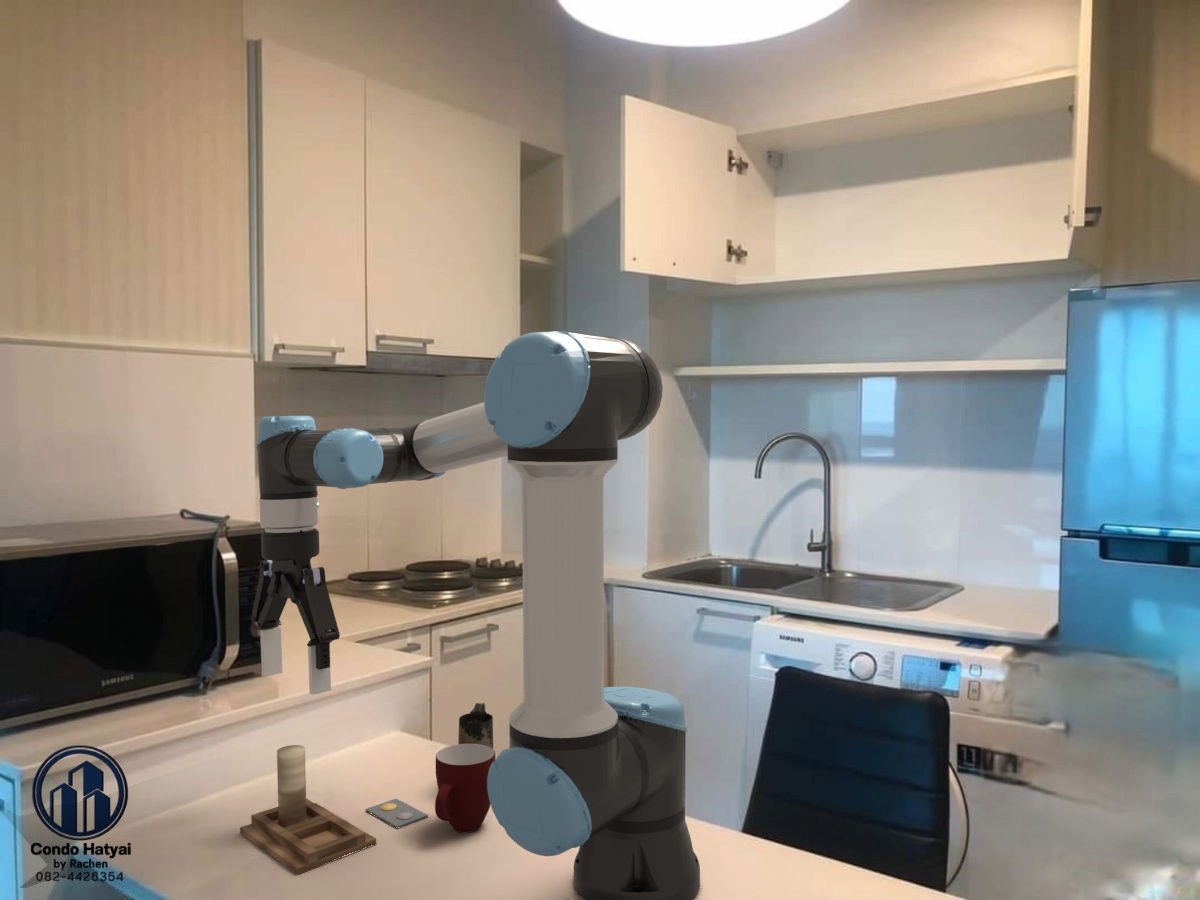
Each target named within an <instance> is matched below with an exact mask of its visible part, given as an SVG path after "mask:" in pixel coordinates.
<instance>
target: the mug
mask: <svg viewBox="0 0 1200 900" xmlns="http://www.w3.org/2000/svg"><path fill="white" fill-rule="evenodd" d="M496 759H497V758H496V750H494V748H493V749H492V748H491V747H488V746H485V745H481V744H453V745H450V746H446V747H443V748H442V749H440V750H439V751H438V752H436V755H435V778H436V785H437V790H438V791H437V793H436V797H435V801H434V811H435V815H436V818H437V819H438V820H440V821H443V822H447V823H448V824H449V826H450V827H451V828H452V830H454V831H456V832H457V831H458V833H471V831H472V832H474V831H478V830H479V829H480V828H481V826H482V825H483V823H484V821H485V818H486V817H487V816H488V813H489V811H490V808H491V804H490V801H489V796H488V790H487V778H488V772H489V769H490V766H491V764H492V763H493V762H494V761H495V760H496ZM478 828H479V829H478Z"/></svg>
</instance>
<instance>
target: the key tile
mask: <svg viewBox="0 0 1200 900" xmlns="http://www.w3.org/2000/svg"><path fill="white" fill-rule="evenodd" d="M367 811H368V812H370V813H372V814H373V815H372V814H371V815H372V816H374V815H375V816H377V817H378V818H377V817H376V818H377V819H379V818H380V819H379V820H381V819H382V820H381V821H383V820H384V821H385V823H386V822H387V823H386V824H388V823H389V824H388V825H390V824H391V825H393V826H395V827H397V828H398V827H401V828H403V827H406V826H409V825H411V824H414V823H416V822H419V821H422V820H425V819H427V818H429V815H428V814H427V813H426V812H423V811H421V810H420V809H417V808H415V807H413V806H412V805H410V804H408V803H405V802H404V801H402V800H400V799H398V798H393V799H390V800H387V801H385V802H382V803H380V804H376V805H373V806H370V807H368V808H365V812H367ZM368 812H367V813H368ZM370 813H369V814H370ZM375 816H374V817H375ZM426 817H427V818H426ZM424 818H425V819H424ZM421 819H422V820H421ZM384 821H383V822H384ZM408 824H409V825H408ZM391 825H390V826H391ZM405 825H406V826H405ZM393 826H392V827H393ZM402 826H403V827H402ZM395 827H394V828H395ZM397 828H396V829H397ZM398 829H399V828H398Z"/></svg>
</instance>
